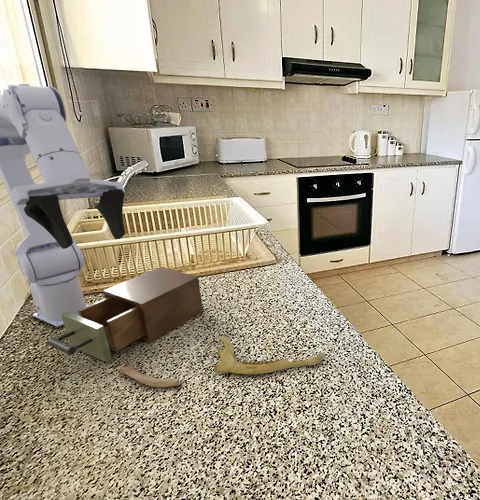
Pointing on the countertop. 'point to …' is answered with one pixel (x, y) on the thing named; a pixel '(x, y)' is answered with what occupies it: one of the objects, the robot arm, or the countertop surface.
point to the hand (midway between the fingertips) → (95, 241)
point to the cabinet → (161, 299)
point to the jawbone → (233, 366)
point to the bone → (145, 377)
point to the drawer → (101, 328)
